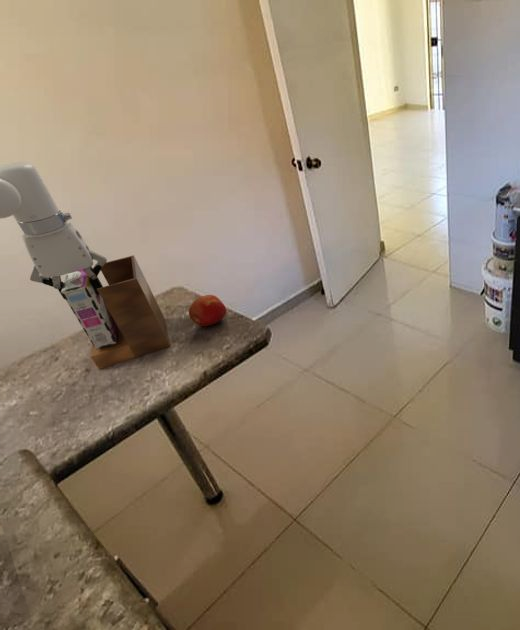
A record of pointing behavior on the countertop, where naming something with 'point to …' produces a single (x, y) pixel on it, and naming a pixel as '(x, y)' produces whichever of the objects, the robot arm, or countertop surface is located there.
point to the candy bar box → (90, 309)
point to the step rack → (130, 314)
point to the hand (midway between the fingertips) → (85, 295)
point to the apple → (207, 310)
